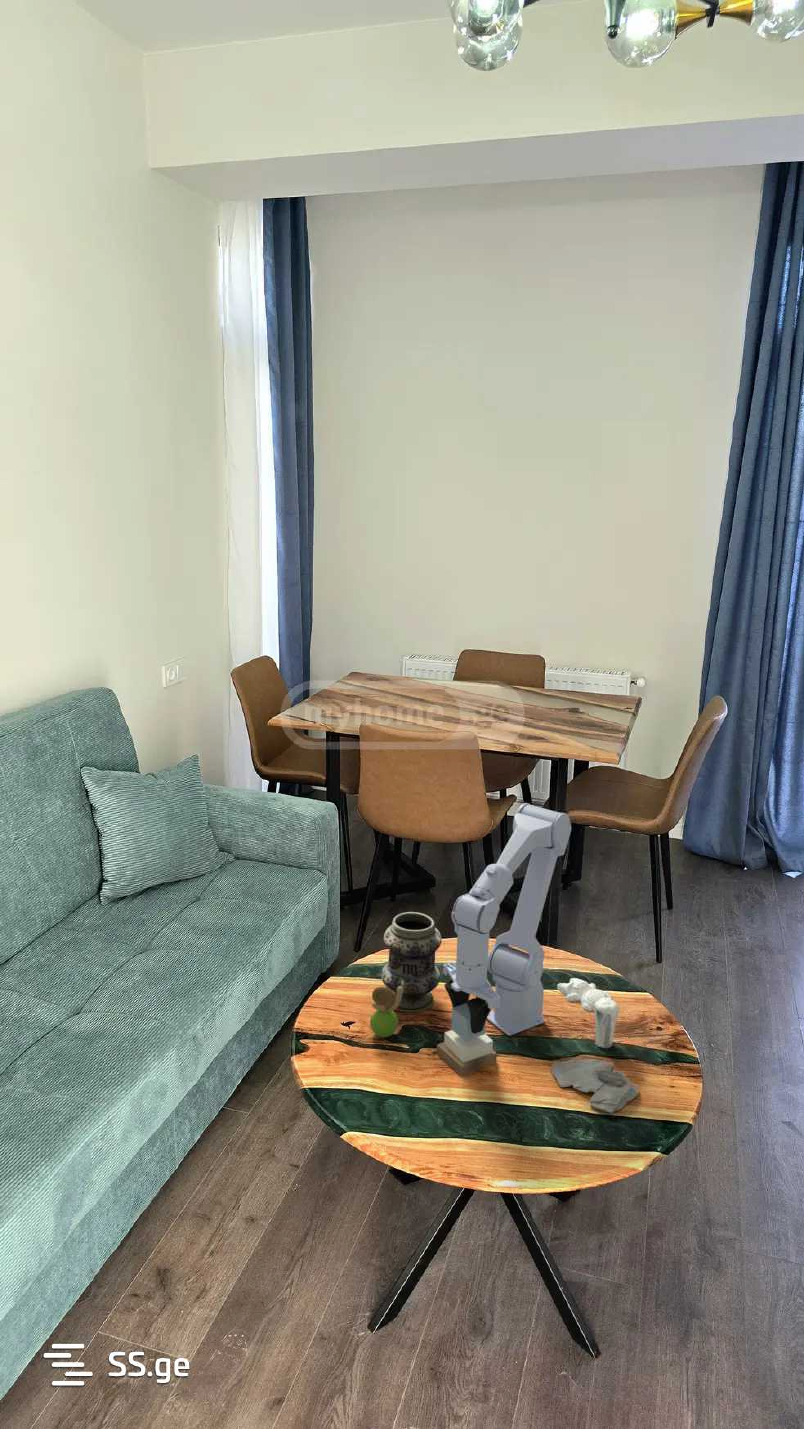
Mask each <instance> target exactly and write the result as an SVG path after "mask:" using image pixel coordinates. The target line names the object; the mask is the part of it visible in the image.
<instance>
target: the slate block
mask: <svg viewBox="0 0 804 1429" xmlns="http://www.w3.org/2000/svg"><path fill="white" fill-rule="evenodd" d="M486 1024H487V1021H486V1022H485V1024H484V1027H483V1030H482V1031H481V1032H478V1033H476V1034H474V1033H472V1030H471V1017H470V1011H469V1008H468V1005H467V1003H465V1004H462V1005H459V1006H456V1007H451V1025H450V1026H451V1028H450V1031H451V1030H453V1031H454V1032H455V1033H456V1034H457V1035H459V1036H460V1037H461V1038H462V1039H463V1040H465V1041H468V1040H471V1039H474V1038H476V1037H479V1036H481V1035H484V1034H486V1028H487V1026H486Z"/></svg>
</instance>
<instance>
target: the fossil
mask: <svg viewBox="0 0 804 1429" xmlns="http://www.w3.org/2000/svg"><path fill="white" fill-rule="evenodd" d="M550 1068H551V1074H552V1076H553V1077H554V1078H555V1079H556V1080H557V1083H558V1085H559V1086H560V1087H561V1088H566V1087H570V1086H572V1087H573V1089H575V1090H577V1091H580V1092H584V1093H593V1095H592V1097H591V1098H590V1099H589V1104H588V1105H590V1106H591V1107H593V1108H596V1109H597V1110H600V1111H601V1112H605V1113H606V1112H607V1113H612V1114H613V1113H614V1112H616V1111H620V1110H622V1108H624V1107H625V1106H626V1105H627V1103H628V1102H629V1101H632V1100H633V1099H634V1098H636V1097H637V1096H638V1095H639V1086H638V1085H636V1084H633V1083H631V1081H630V1079H628V1077H627V1076H626V1075H625V1074H624V1073H623V1072H620V1071H619V1070H615V1064H614V1063H612V1062H604V1061H601V1060H600V1059H596V1058H594V1057H593V1058H591V1059H576V1058H575V1059H570V1060H567V1061H562V1062H559V1061H557V1062H554V1063H552V1064H551V1067H550Z"/></svg>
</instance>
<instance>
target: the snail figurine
mask: <svg viewBox="0 0 804 1429" xmlns="http://www.w3.org/2000/svg"><path fill="white" fill-rule="evenodd" d="M401 985H402V987H401V986H400V987H398V988H397V995H396V998H395V995H394V993H393V991H392V990H391V989H389V988H388V987H387V986H386V985H384V986H383V985H381V986H377V987H376V988H374V989H373V991H372V994H371V998H372V1000H373V1002H374V1003H371V1006H372V1007H373V1008H374V1009H375V1011H374V1012H372V1014H371V1016H370V1020H369V1024H370V1026H369V1027H370V1029H371V1031H372V1033H373V1034H375V1035H376V1036H377V1037H380V1038H389V1037H390V1036H392V1035H393V1034H395V1033H396V1031H397V1029H398V1026H399V1018H398V1016H397V1014H396V1012H394V1011H396V1010H395V1009H396V1008H397V1007H398V1006H399V1004H400V1001H401V998H402V994H403V992H404V988H403V985H404V981H402V983H401Z"/></svg>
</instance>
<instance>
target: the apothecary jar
mask: <svg viewBox="0 0 804 1429" xmlns="http://www.w3.org/2000/svg"><path fill="white" fill-rule="evenodd" d="M442 939H443V938H442V935H441V932H440V931H439V930H438V928H436V925H435V922H434V920H433V918H432V917H430V916H429V915H427V914H425V913H421V912H415V911H408V912H407V911H406V912H401V913H399V914H397V915H395V916H394V917H393V919H392V923H391V925H389V927H387V928H386V930H385V932H384V934H383V941H384V944H385V947H386V948H387V949H388V960H387V963H385V965H384V966H383V967H382V970H381V974H380V976H381V980H382V982H383V985H384V986H385V987H388V988H389V989H391V990H392V991H393V993H394V995H395V998H396V995H397V988H398V987H400V986H401V987H402V985H401V983H402V981H404V985H403V988H404V992H403V994H402V998H401V1001H400V1004H399V1006H398V1007H397V1008H396V1009H395V1010H394V1011H398V1012H402V1013H406V1014H407V1013H408V1014H409V1013H411V1014H413V1013H414V1014H415V1013H420V1012H424V1011H427V1010H428V1009H430V1008H432V1006H433V1005H434V1003H435V998H434V996H433V993H431V992H432V991H433V990H435V989H436V988H437V987H438V985H439V984H440V980H441V972H440V970H439V968H438V966H436V952H437V951H438V950H439V948H440V947H441V944H442Z"/></svg>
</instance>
